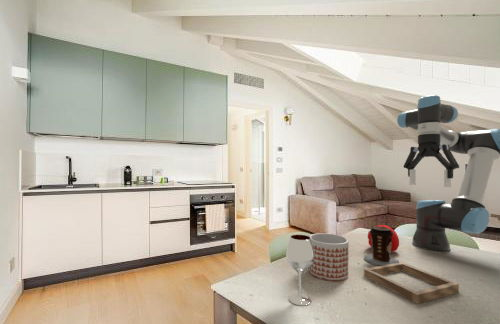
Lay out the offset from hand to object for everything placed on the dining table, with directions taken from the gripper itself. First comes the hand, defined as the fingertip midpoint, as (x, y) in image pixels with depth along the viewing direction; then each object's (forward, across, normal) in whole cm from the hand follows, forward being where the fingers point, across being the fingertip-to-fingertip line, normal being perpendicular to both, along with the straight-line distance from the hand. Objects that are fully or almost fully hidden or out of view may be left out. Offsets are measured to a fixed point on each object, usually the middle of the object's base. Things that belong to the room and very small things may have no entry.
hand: (428, 185), depth 100 cm
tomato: (+32, -19, -3) cm, 37 cm away
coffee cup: (+31, -9, -16) cm, 36 cm away
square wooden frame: (+32, +9, -25) cm, 41 cm away
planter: (+32, -7, -45) cm, 56 cm away
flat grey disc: (+32, -9, -16) cm, 37 cm away
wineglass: (+32, +5, -65) cm, 73 cm away
